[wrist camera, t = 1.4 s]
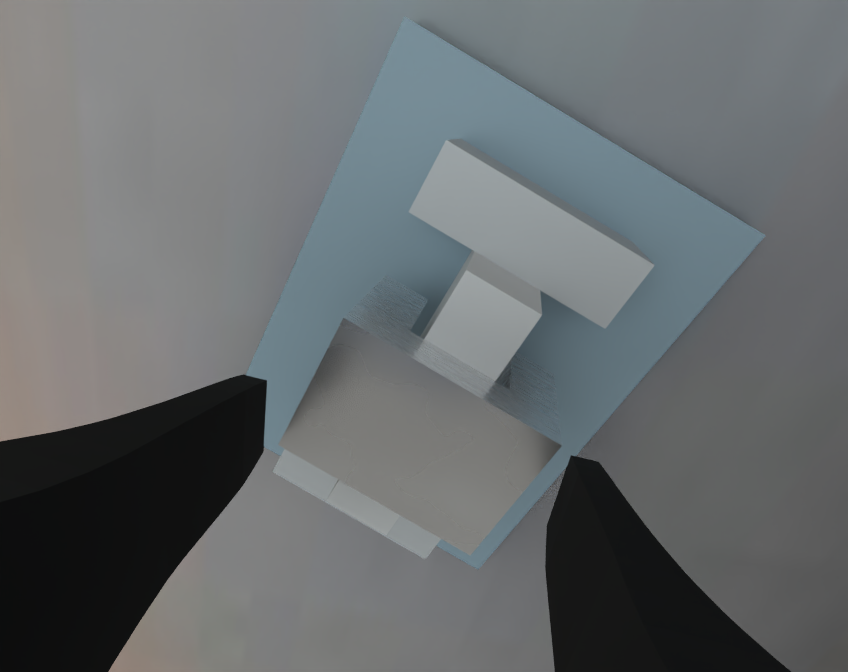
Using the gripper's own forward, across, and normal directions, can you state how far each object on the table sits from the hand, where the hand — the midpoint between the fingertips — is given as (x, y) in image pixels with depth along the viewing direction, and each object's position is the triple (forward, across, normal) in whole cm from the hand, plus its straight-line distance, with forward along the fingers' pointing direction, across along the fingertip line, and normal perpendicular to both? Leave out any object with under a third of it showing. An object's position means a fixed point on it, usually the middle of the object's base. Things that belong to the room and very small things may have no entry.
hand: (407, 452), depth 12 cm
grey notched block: (+4, 0, 0) cm, 4 cm away
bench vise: (+8, 0, 0) cm, 8 cm away
